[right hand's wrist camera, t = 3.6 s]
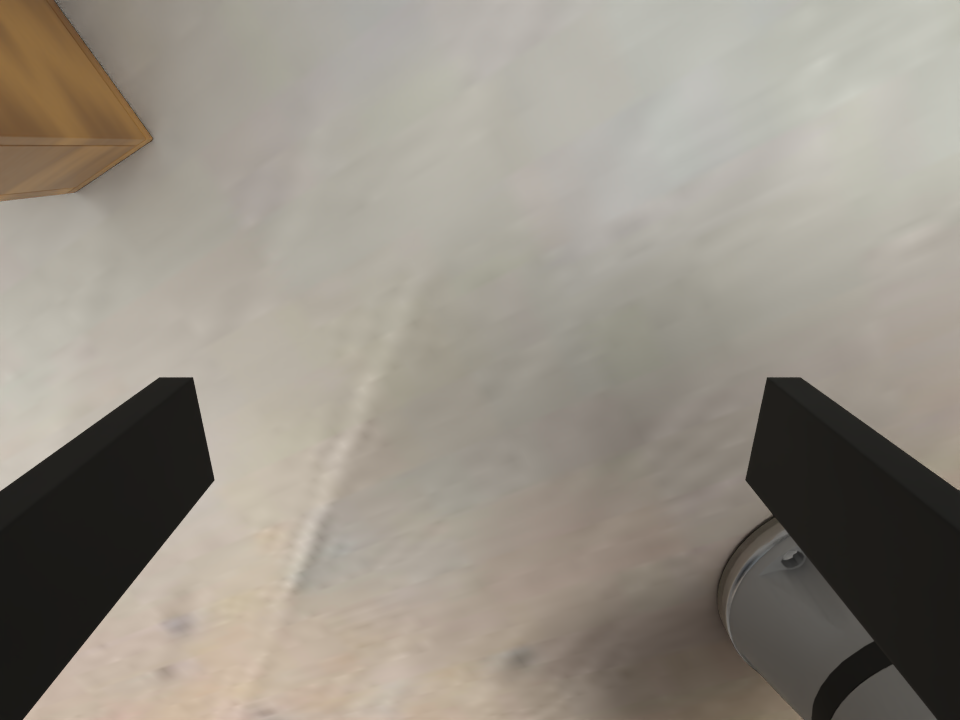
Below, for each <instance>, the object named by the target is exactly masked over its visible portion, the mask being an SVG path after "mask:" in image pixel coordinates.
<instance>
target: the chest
mask: <svg viewBox="0 0 960 720" xmlns="http://www.w3.org/2000/svg"><path fill="white" fill-rule="evenodd" d="M152 139H153V138H152V137H151V135H150V134H149V133H148V131H147V130H146V128H145V127H144V126H143V124H142V123H141V121H140V120H139V119H138V117H137V116H136V115H135V113H134V112H133V110H132V109H131V108H130V106H129V105H128V103H127V102H126V101H125V99H124V98H123V96H122V95H121V94H120V92H119V91H118V89H117V88H116V87H115V85H114V84H113V82H112V81H111V80H110V78H109V77H108V75H107V74H106V73H105V71H104V70H103V68H102V67H101V66H100V64H99V63H98V61H97V60H96V59H95V57H94V56H93V54H92V53H91V52H90V50H89V49H88V48H87V46H86V45H85V43H84V42H83V41H82V39H81V38H80V36H79V35H78V34H77V32H76V31H75V29H74V28H73V27H72V25H71V24H70V22H69V21H68V20H67V18H66V17H65V15H64V14H63V13H62V11H61V10H60V8H59V7H58V6H57V4H56V3H55V1H54V0H0V201H6V200H15V199H24V198H33V197H42V196H50V195H59V194H66V193H75V192H76V191H78V190H79V189H81V188H82V187H84V186H85V185H87V184H88V183H90V182H91V181H93V180H94V179H95V178H97V177H98V176H100V175H101V174H103V173H104V172H106V171H107V170H109V169H110V168H112V167H113V166H115V165H116V164H118V163H119V162H121V161H122V160H123V159H125V158H126V157H128V156H129V155H131V154H132V153H134V152H135V151H137V150H138V149H140V148H141V147H143V146H144V145H146V144H147V143H149V142H150V141H151V140H152Z"/></svg>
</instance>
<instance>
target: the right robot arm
mask: <svg viewBox="0 0 960 720" xmlns="http://www.w3.org/2000/svg"><path fill="white" fill-rule="evenodd" d="M213 481H214V475H213V470H212V466H211V461H210V456H209V451H208V447H207V442H206V437H205V432H204V428H203V423H202V418H201V413H200V409H199V404H198V399H197V394H196V390H195V385H194V380H193V378H158V379H157V380H155V381H154V382H152V383H151V384H150V385H148V386H147V387H145V388H144V389H143V390H141V391H140V392H138V393H137V394H136V395H134V396H133V397H131V398H130V399H129V400H127V401H126V402H124V403H123V404H122V405H120V406H119V407H118V408H116V409H115V410H113V411H112V412H111V413H109V414H108V415H106V416H105V417H104V418H102V419H101V420H99V421H98V422H97V423H95V424H94V425H92V426H91V427H90V428H88V429H87V430H85V431H84V432H83V433H81V434H80V435H78V436H77V437H76V438H74V439H73V440H71V441H70V442H69V443H67V444H66V445H64V446H63V447H62V448H60V449H59V450H57V451H56V452H55V453H53V454H52V455H50V456H49V457H48V458H46V459H45V460H43V461H42V462H41V463H39V464H38V465H36V466H35V467H34V468H32V469H31V470H29V471H28V472H27V473H25V474H24V475H22V476H21V477H20V478H18V479H17V480H15V481H14V482H13V483H11V484H10V485H8V486H7V487H6V488H4V489H3V490H1V491H0V720H23V719H24V718H25V716H26V715H27V714H28V713H29V711H30V710H31V709H32V708H33V706H34V705H35V704H36V703H37V701H38V700H39V699H40V698H41V696H42V695H43V694H44V693H45V691H46V690H47V689H48V688H49V686H50V685H51V684H52V683H53V681H54V680H55V679H56V678H57V676H58V675H59V674H60V673H61V671H62V670H63V669H64V668H65V666H66V665H67V664H68V663H69V661H70V660H71V659H72V658H73V656H74V655H75V654H76V653H77V651H78V650H79V649H80V648H81V646H82V645H83V644H84V643H85V641H86V640H87V639H88V638H89V636H90V635H91V634H92V633H93V631H94V630H95V629H96V628H97V626H98V625H99V624H100V623H101V621H102V620H103V619H104V618H105V616H106V615H107V614H108V613H109V611H110V610H111V609H112V608H113V606H114V605H115V604H116V603H117V601H118V600H119V599H120V598H121V596H122V595H123V594H124V593H125V591H126V590H127V589H128V588H129V586H130V585H131V584H132V583H133V581H134V580H135V579H136V578H137V576H138V575H139V574H140V573H141V571H142V570H143V569H144V568H145V566H146V565H147V564H148V563H149V561H150V560H151V559H152V558H153V556H154V555H155V554H156V553H157V551H158V550H159V549H160V548H161V546H162V545H163V544H164V543H165V541H166V540H167V539H168V538H169V536H170V535H171V534H172V533H173V531H174V530H175V529H176V528H177V526H178V525H179V524H180V523H181V521H182V520H183V519H184V518H185V516H186V515H187V514H188V513H189V511H190V510H191V509H192V508H193V506H194V505H195V504H196V503H197V501H198V500H199V499H200V498H201V496H202V495H203V494H204V493H205V491H206V490H207V489H208V488H209V486H210V485H211V484H212V483H213ZM746 481H747V483H748V484H749V485H750V486H751V488H752V489H753V490H754V491H755V493H756V494H757V495H758V496H759V498H760V499H761V500H762V501H763V503H764V504H765V505H766V506H767V508H768V509H769V510H770V511H771V513H772V514H773V515H774V516H775V517H774V518H773V519H771V520H770V521H768V522H767V523H765V524H764V525H762V526H761V527H760V528H758V529H757V530H756V531H755V532H753V533H752V534H751V535H750V536H749V537H748V538H747V539H746V540H745V541H744V542H743V543H742V544H741V545H740V546H739V547H738V549H737V550H736V551H735V553H734V554H733V555H732V557H731V558H730V560H729V562H728V563H727V565H726V567H725V569H724V571H723V574H722V577H721V579H720V583H719V587H718V595H717V604H718V611H719V615H720V618H721V621H722V623H723V625H724V627H725V629H726V631H727V633H728V635H729V637H730V639H731V641H732V643H733V645H734V647H735V649H736V650H737V652H738V654H739V655H740V656H741V657H742V658H743V660H744V661H745V662H746V663H747V664H749V665H750V666H751V667H752V668H753V669H754V670H756V671H757V672H758V673H759V674H760V675H761V676H762V677H763V678H764V679H765V680H766V681H767V682H768V683H769V684H770V685H771V686H772V687H773V688H774V689H775V691H776V692H777V693H778V694H779V695H780V696H781V697H782V698H783V699H784V700H785V701H786V702H787V703H788V704H789V705H790V706H791V707H792V708H793V709H794V710H795V711H796V712H797V713H798V714H799V715H800V716H801V717H802V718H803V719H804V720H960V490H957V489H956V488H954V487H953V486H952V485H950V484H949V483H947V482H946V481H945V480H943V479H942V478H940V477H939V476H938V475H936V474H935V473H933V472H932V471H931V470H929V469H928V468H926V467H925V466H924V465H922V464H921V463H919V462H918V461H917V460H915V459H914V458H912V457H911V456H910V455H908V454H907V453H905V452H904V451H903V450H901V449H900V448H898V447H897V446H896V445H894V444H893V443H891V442H890V441H889V440H887V439H886V438H884V437H883V436H882V435H880V434H879V433H877V432H876V431H875V430H873V429H872V428H870V427H869V426H868V425H866V424H865V423H863V422H862V421H861V420H859V419H858V418H856V417H855V416H854V415H852V414H851V413H849V412H848V411H847V410H845V409H844V408H842V407H841V406H840V405H838V404H837V403H836V402H834V401H833V400H831V399H830V398H829V397H827V396H826V395H824V394H823V393H822V392H820V391H819V390H817V389H816V388H815V387H813V386H812V385H810V384H809V383H808V382H806V381H805V380H803V379H802V378H767V380H766V385H765V390H764V394H763V399H762V404H761V409H760V413H759V418H758V423H757V428H756V432H755V437H754V442H753V447H752V451H751V456H750V461H749V466H748V470H747V475H746Z"/></svg>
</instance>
